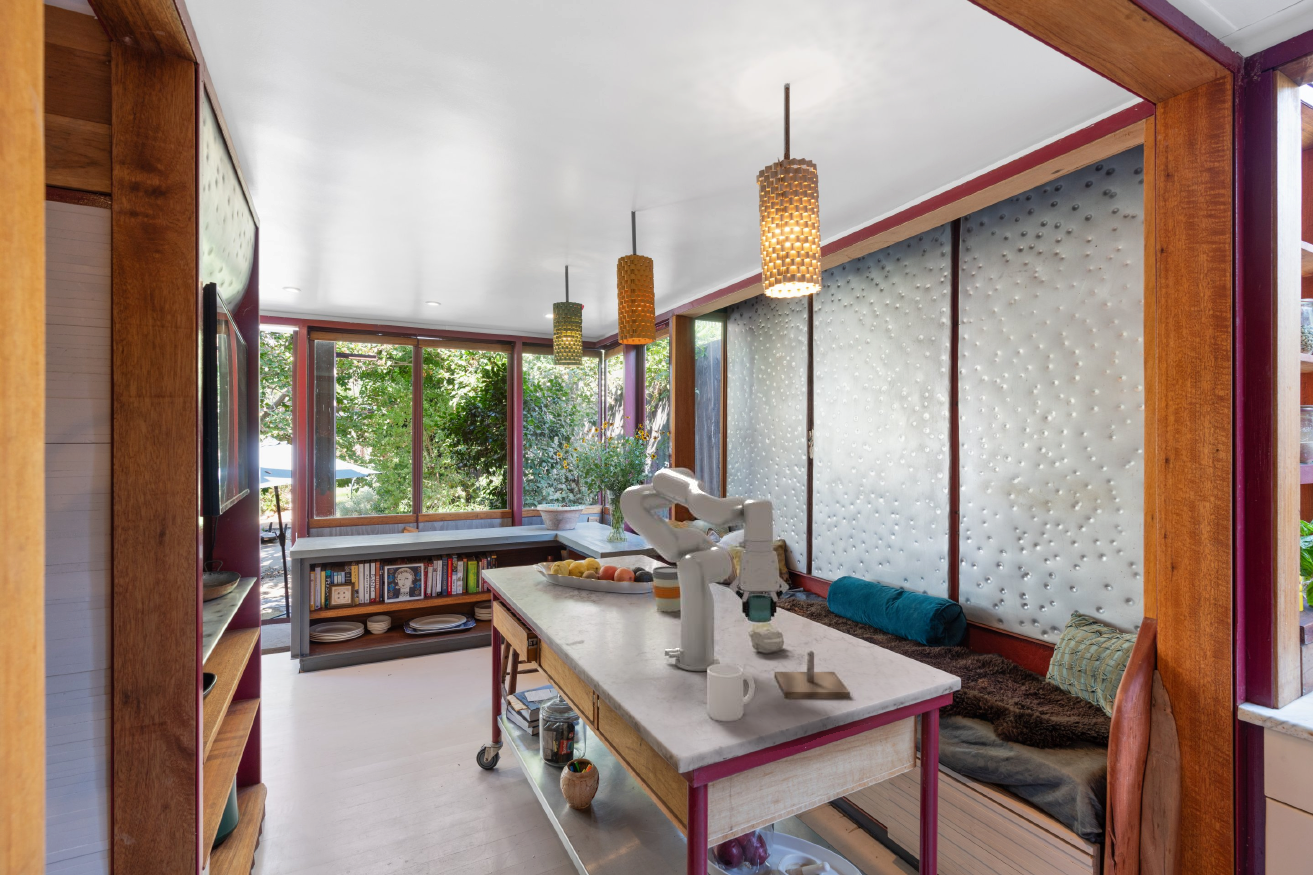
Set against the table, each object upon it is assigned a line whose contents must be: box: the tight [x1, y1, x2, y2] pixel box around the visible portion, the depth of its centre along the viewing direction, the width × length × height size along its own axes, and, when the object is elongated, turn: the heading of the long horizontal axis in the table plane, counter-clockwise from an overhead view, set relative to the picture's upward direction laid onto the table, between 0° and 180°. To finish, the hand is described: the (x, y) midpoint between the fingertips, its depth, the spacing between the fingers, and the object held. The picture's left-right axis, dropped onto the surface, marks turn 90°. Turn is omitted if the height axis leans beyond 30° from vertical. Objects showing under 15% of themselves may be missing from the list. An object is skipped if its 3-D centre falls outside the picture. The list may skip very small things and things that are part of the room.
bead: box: [746, 593, 772, 624], centre depth 166 cm, size 6×6×6 cm
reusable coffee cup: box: [651, 565, 681, 613], centre depth 241 cm, size 12×13×15 cm
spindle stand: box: [773, 650, 851, 699], centre depth 163 cm, size 16×14×9 cm
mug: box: [706, 663, 756, 723], centre depth 147 cm, size 12×8×10 cm
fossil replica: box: [747, 622, 785, 654], centre depth 192 cm, size 12×8×10 cm
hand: (759, 615), depth 166 cm, fingers closed on bead, 6 cm apart
